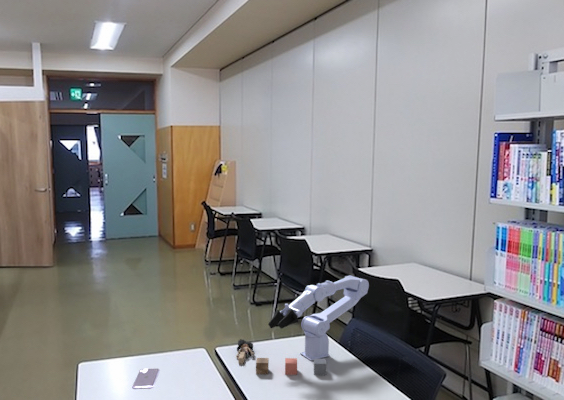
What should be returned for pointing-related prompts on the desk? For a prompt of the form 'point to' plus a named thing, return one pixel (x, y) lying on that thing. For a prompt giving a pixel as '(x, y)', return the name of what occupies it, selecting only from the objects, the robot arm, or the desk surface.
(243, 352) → the toy figure
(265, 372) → the walnut block
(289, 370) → the red block
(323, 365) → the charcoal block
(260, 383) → the desk surface
